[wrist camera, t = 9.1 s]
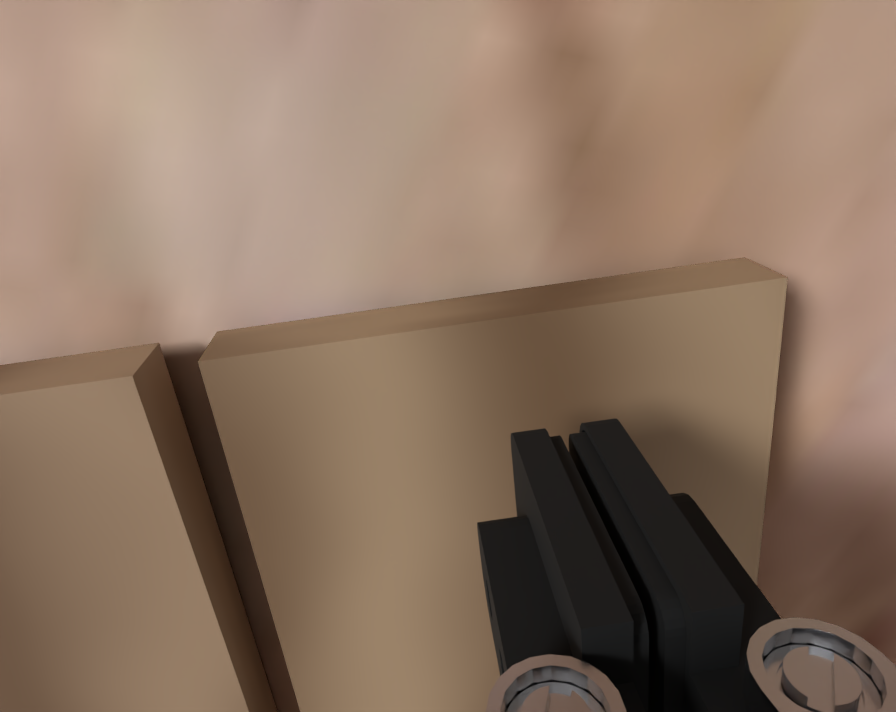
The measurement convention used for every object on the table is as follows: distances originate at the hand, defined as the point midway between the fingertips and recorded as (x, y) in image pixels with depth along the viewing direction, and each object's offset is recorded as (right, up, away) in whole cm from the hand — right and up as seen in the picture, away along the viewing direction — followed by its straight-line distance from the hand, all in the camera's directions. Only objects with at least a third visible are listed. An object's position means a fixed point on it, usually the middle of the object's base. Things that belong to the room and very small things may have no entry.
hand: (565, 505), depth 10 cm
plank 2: (-1, -2, +4) cm, 5 cm away
